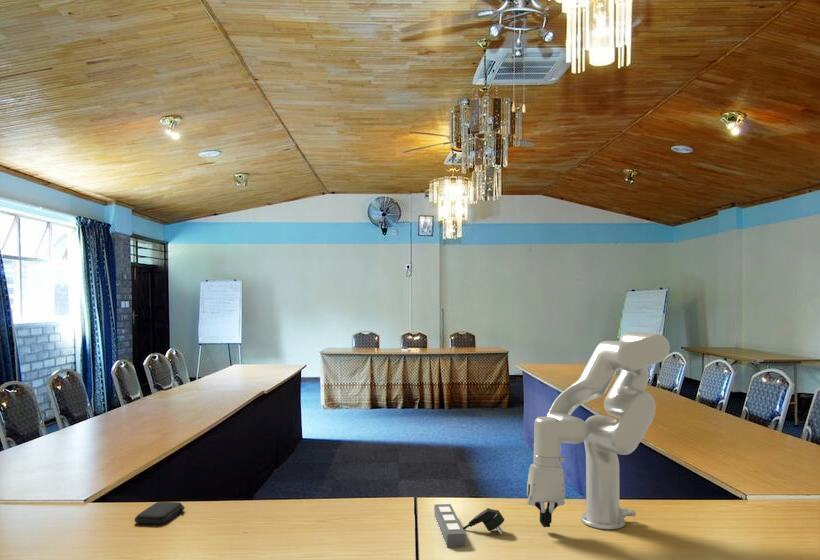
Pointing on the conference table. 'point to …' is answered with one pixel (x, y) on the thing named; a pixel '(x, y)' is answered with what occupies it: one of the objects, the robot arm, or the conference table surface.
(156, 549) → the conference table surface
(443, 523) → the power strip
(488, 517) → the power plug
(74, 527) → the conference table surface
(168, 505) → the carrying case or bag
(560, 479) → the robot arm
